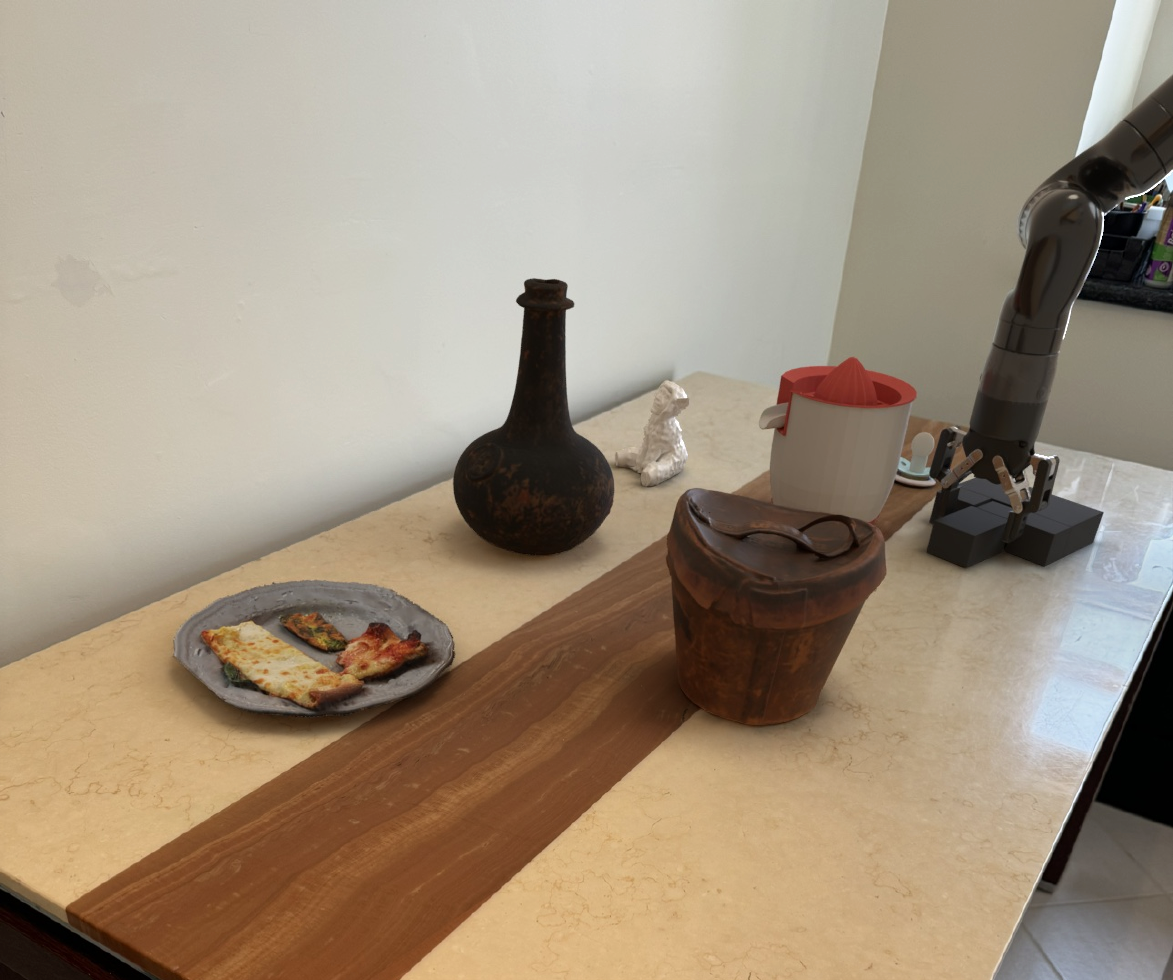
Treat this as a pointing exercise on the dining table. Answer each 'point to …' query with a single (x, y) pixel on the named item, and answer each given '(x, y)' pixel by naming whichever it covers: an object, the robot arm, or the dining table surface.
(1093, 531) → the socket pad
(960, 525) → the pad
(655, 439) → the seated beast figurine
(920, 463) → the pacifier
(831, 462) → the citrus juicer
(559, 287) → the glass bottle
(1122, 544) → the dining table surface
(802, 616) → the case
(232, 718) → the dining table surface
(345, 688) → the food plate
